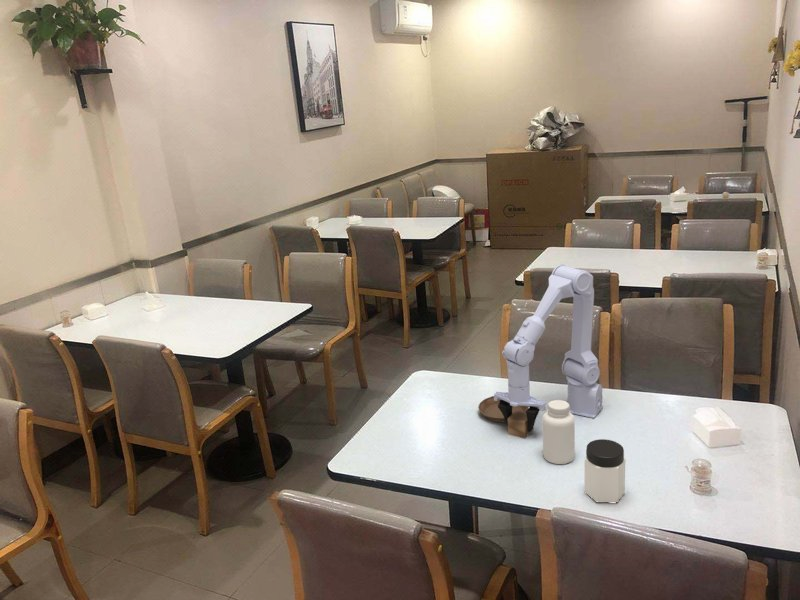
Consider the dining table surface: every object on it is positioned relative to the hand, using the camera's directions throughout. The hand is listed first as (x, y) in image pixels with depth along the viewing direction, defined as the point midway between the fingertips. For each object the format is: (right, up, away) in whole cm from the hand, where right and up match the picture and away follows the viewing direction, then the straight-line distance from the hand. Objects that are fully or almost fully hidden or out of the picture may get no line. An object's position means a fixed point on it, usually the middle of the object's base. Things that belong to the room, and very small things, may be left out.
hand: (520, 427), depth 176 cm
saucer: (-3, +2, +12) cm, 12 cm away
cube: (0, -1, 0) cm, 2 cm away
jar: (+14, -10, -29) cm, 34 cm away
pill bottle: (+8, -5, -13) cm, 16 cm away
